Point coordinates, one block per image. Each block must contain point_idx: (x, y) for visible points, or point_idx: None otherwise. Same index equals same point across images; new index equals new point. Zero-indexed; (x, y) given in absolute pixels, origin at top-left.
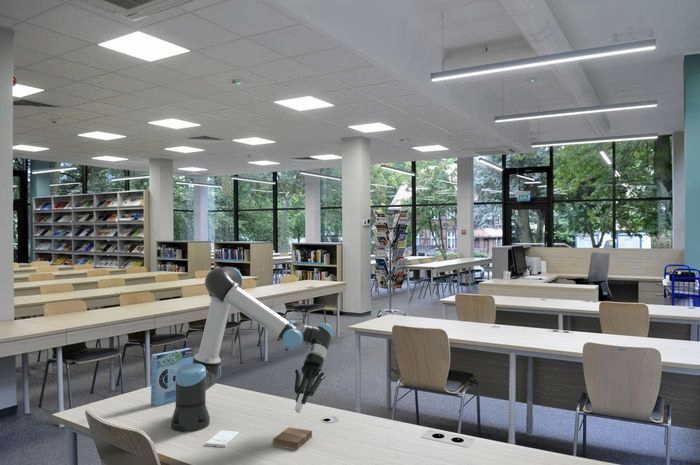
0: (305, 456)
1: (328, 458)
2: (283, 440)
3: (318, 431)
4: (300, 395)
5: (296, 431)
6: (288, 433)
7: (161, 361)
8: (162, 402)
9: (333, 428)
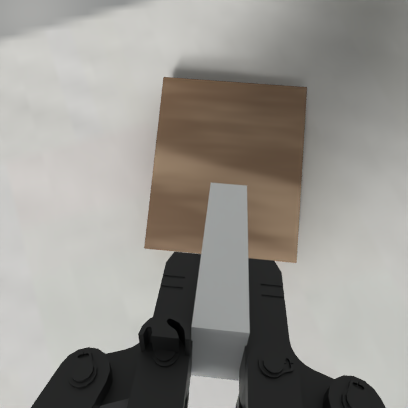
0: (112, 38)
1: (12, 47)
2: (246, 84)
3: None
4: (231, 306)
5: None
6: (257, 173)
7: None
8: None
9: None
